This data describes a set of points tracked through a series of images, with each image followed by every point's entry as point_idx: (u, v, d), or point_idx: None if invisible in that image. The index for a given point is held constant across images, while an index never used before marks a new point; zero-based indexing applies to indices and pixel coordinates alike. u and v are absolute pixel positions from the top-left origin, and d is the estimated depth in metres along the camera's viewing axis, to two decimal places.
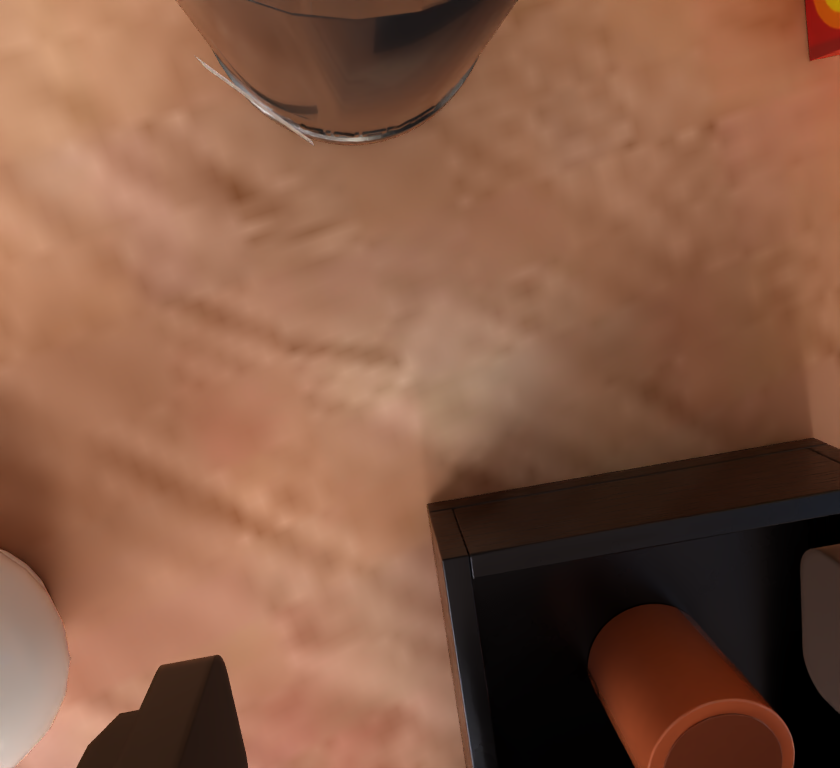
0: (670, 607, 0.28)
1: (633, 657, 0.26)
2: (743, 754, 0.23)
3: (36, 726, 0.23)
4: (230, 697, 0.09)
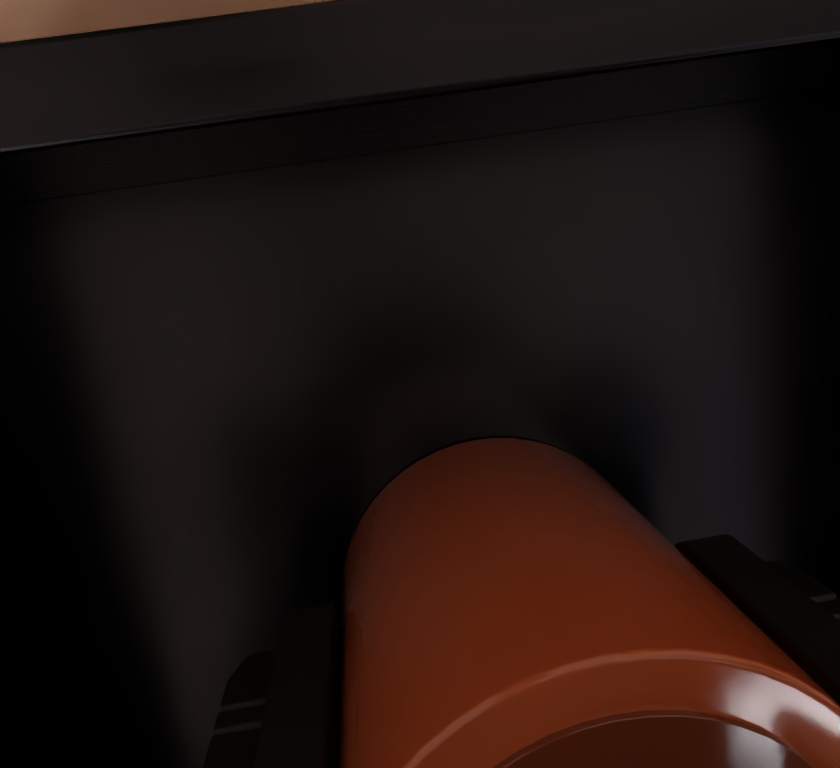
0: (543, 445, 0.11)
1: (401, 547, 0.09)
2: None
3: None
4: None
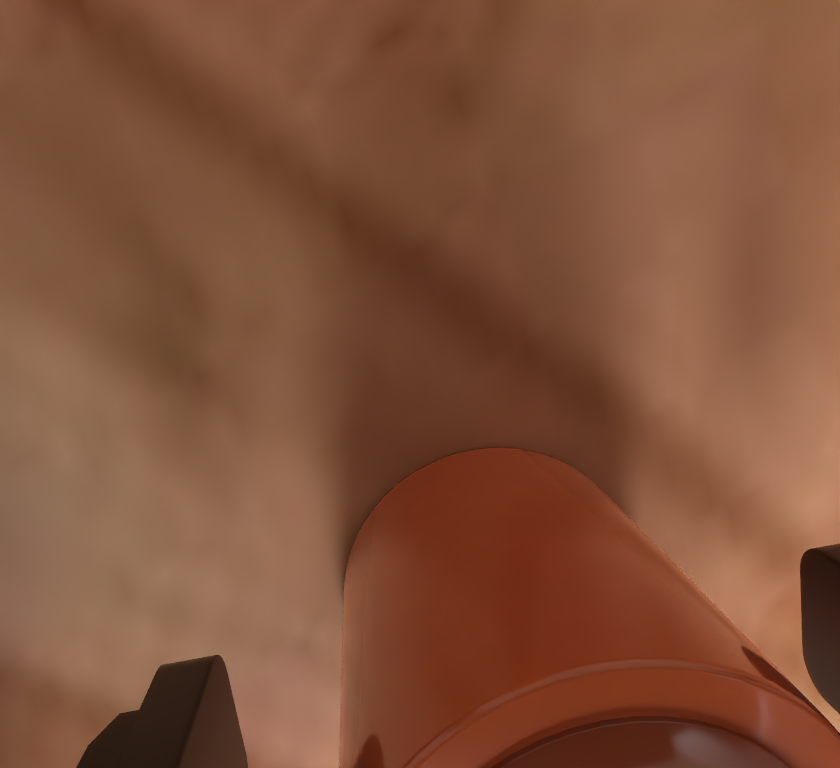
0: (540, 455, 0.11)
1: (400, 556, 0.09)
2: None
3: None
4: (230, 697, 0.09)
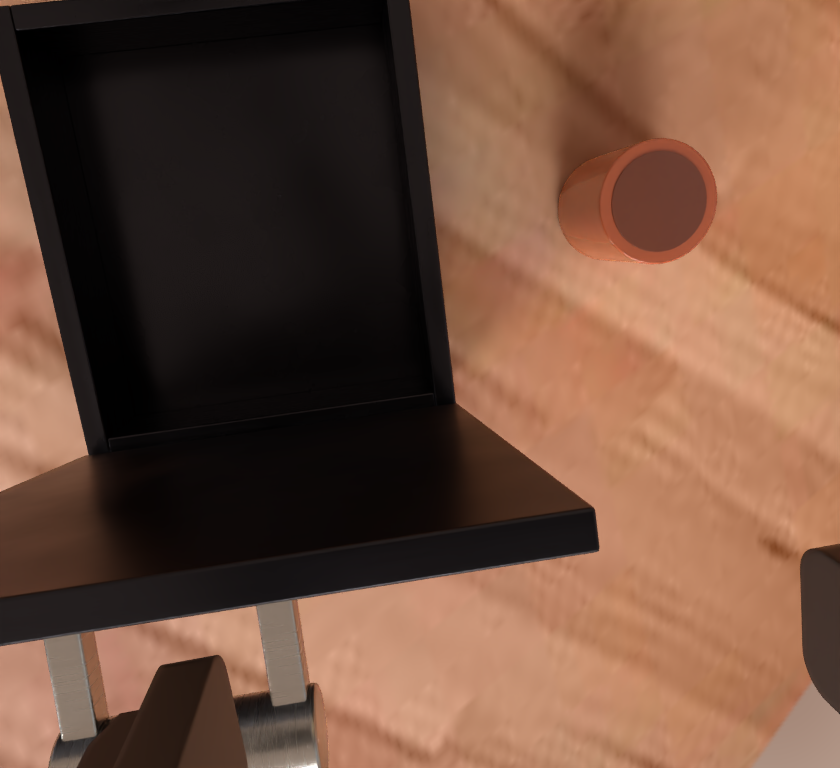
0: None
1: (593, 163, 0.32)
2: (675, 191, 0.29)
3: None
4: (230, 697, 0.09)
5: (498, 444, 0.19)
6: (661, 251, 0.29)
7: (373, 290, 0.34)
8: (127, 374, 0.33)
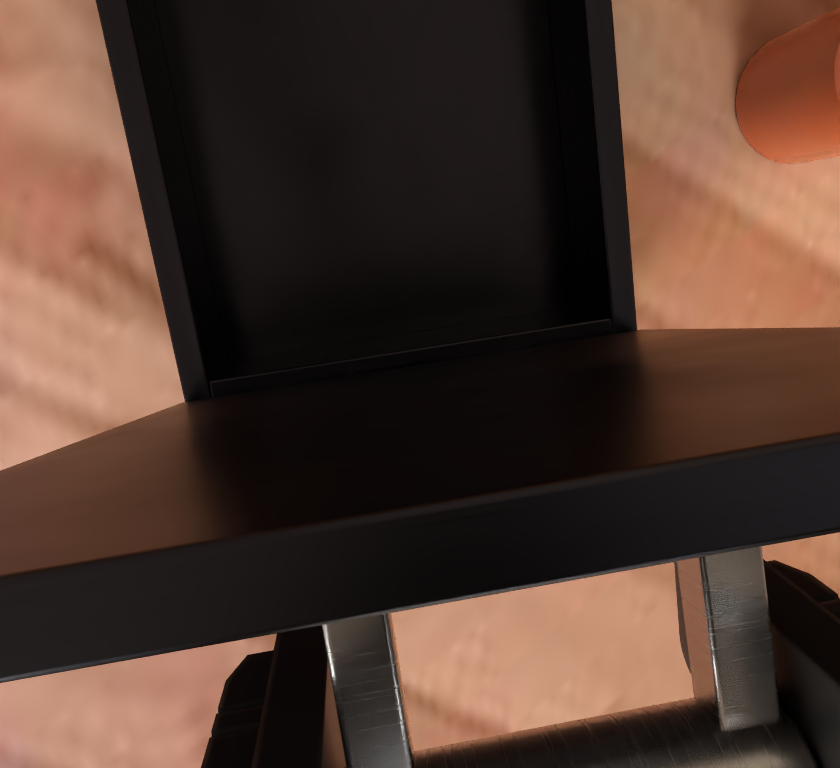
0: None
1: (797, 31, 0.25)
2: None
3: None
4: None
5: None
6: None
7: (516, 202, 0.27)
8: (219, 309, 0.27)
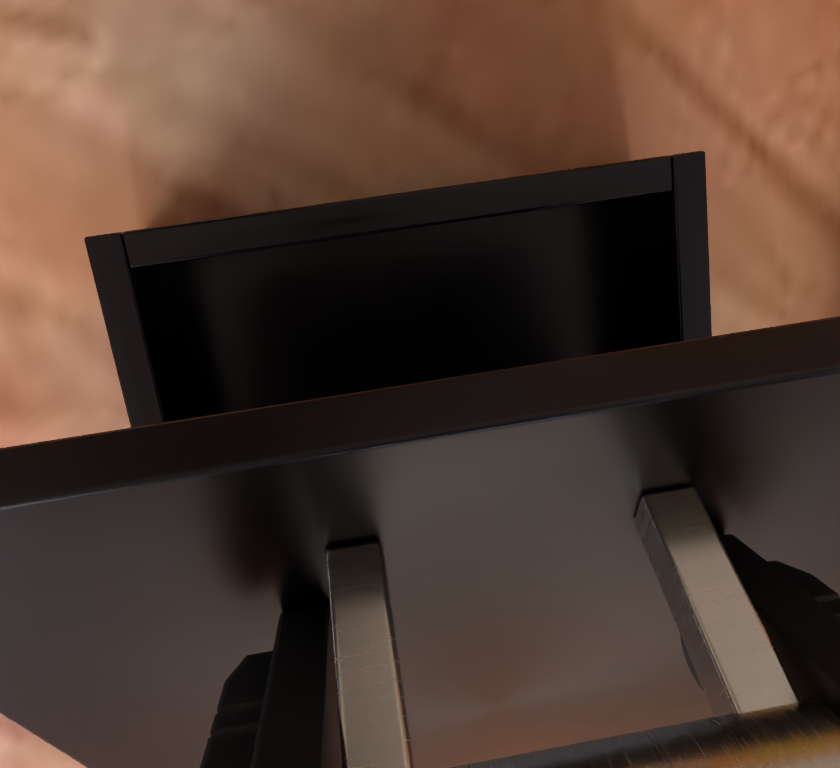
0: None
1: None
2: None
3: None
4: None
5: None
6: None
7: None
8: None
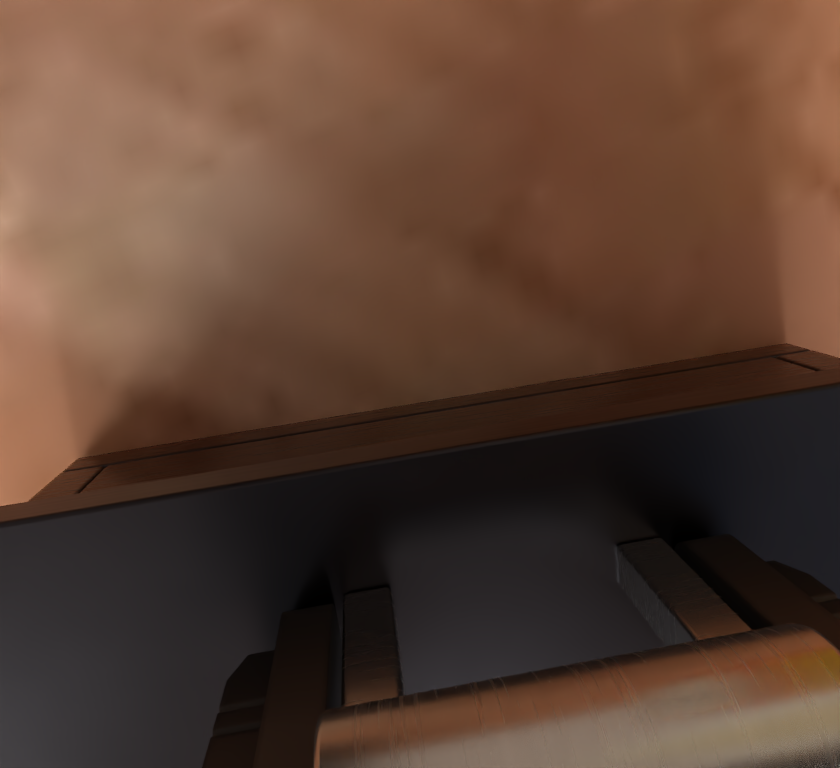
0: None
1: None
2: None
3: None
4: (341, 643, 0.10)
5: None
6: None
7: None
8: None
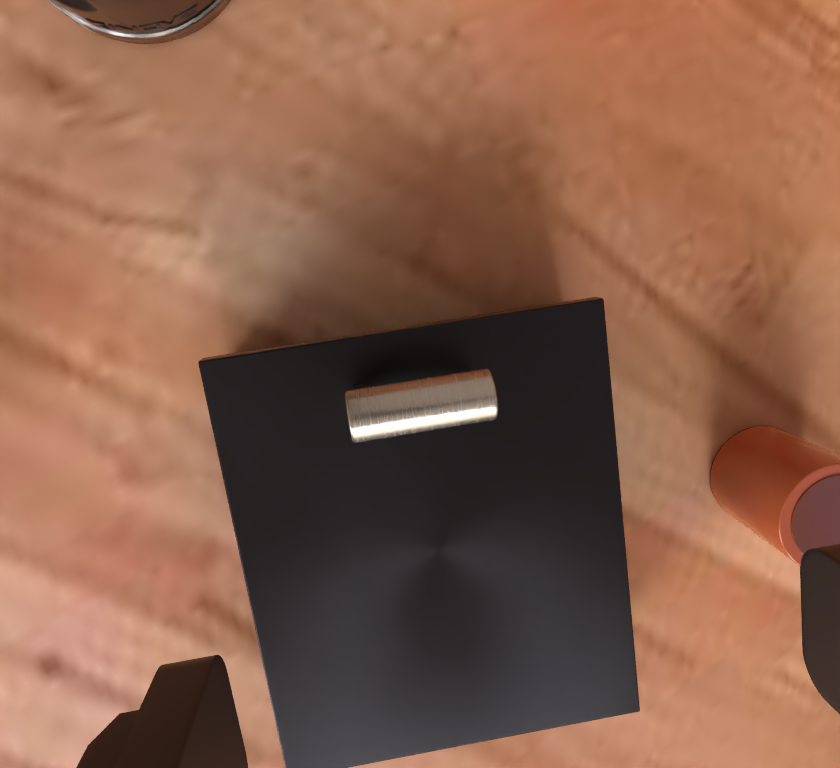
0: None
1: (756, 454, 0.33)
2: None
3: None
4: (230, 697, 0.09)
5: None
6: None
7: None
8: None
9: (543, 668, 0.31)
